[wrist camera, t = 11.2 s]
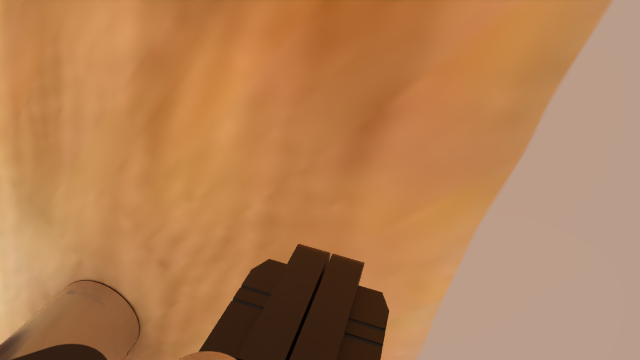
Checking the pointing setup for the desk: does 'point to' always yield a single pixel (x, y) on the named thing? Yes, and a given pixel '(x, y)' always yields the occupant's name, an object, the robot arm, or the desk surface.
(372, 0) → the desk surface
